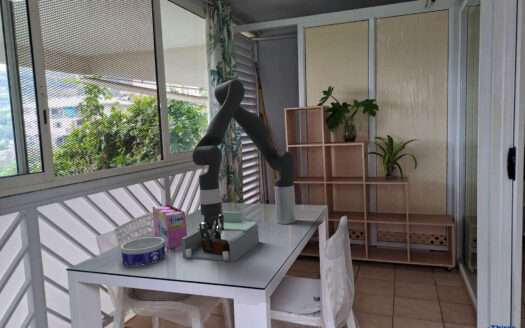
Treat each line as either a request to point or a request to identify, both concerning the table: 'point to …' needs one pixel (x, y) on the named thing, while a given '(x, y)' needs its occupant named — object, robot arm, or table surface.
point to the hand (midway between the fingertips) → (214, 246)
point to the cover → (235, 222)
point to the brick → (217, 246)
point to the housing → (237, 249)
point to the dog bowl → (143, 250)
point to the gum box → (169, 225)
